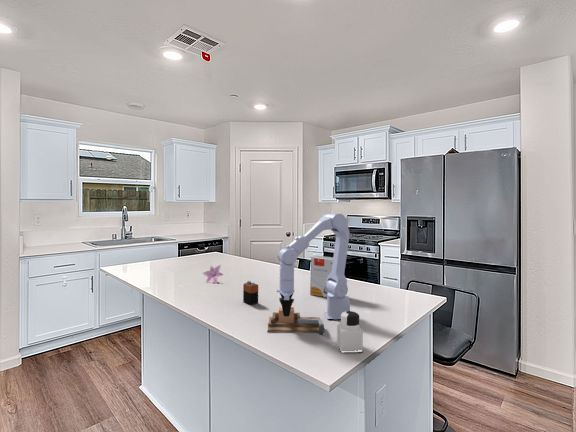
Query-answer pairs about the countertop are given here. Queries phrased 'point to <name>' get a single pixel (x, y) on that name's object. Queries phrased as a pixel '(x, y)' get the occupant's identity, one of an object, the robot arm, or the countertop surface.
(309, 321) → the gate
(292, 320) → the block with dome
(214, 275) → the lily
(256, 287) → the battery
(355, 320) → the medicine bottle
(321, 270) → the hard drive box
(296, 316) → the housing
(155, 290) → the countertop surface
